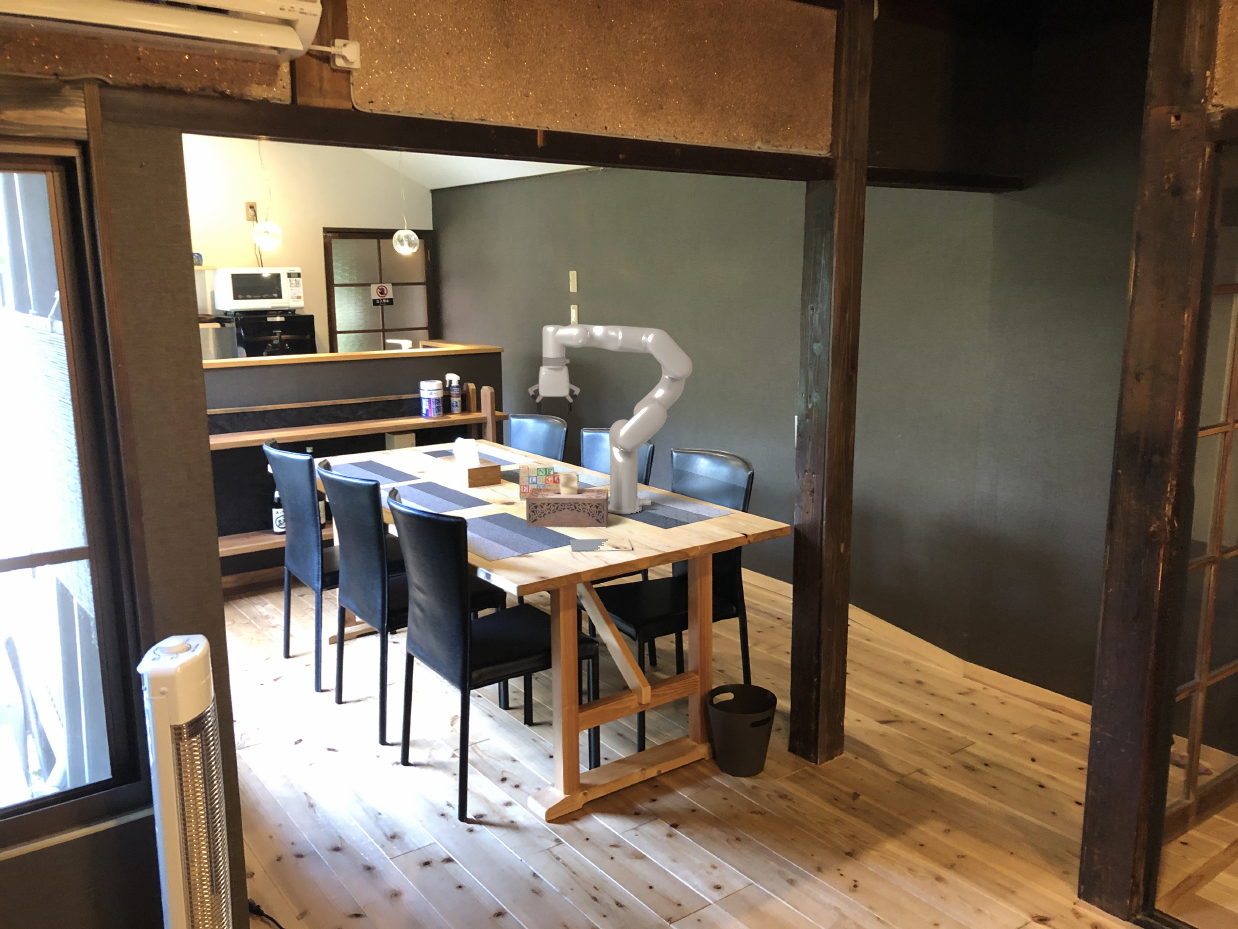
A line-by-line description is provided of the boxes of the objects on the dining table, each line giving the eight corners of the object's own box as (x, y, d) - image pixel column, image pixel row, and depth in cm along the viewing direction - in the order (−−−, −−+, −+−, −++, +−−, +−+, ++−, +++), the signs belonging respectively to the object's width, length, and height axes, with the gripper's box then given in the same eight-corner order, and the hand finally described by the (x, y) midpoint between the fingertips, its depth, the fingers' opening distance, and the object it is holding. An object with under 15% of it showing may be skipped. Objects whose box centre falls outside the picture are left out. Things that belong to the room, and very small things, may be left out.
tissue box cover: (526, 527, 304) (526, 497, 302) (532, 516, 318) (531, 488, 316) (606, 528, 303) (606, 498, 301) (608, 518, 317) (608, 489, 315)
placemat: (628, 539, 289) (628, 538, 289) (633, 550, 277) (633, 549, 277) (569, 540, 287) (569, 539, 287) (572, 551, 275) (572, 550, 275)
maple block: (574, 491, 312) (574, 473, 310) (577, 494, 307) (577, 476, 306) (559, 491, 311) (559, 474, 309) (562, 495, 306) (561, 477, 305)
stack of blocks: (576, 495, 349) (576, 463, 347) (579, 499, 343) (578, 466, 341) (519, 497, 346) (518, 464, 344) (520, 501, 340) (519, 467, 337)
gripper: (579, 361, 317) (579, 412, 320) (527, 361, 315) (528, 412, 318) (580, 363, 309) (580, 415, 313) (528, 363, 307) (528, 415, 311)
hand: (554, 413), depth 315 cm, fingers open, 9 cm apart
